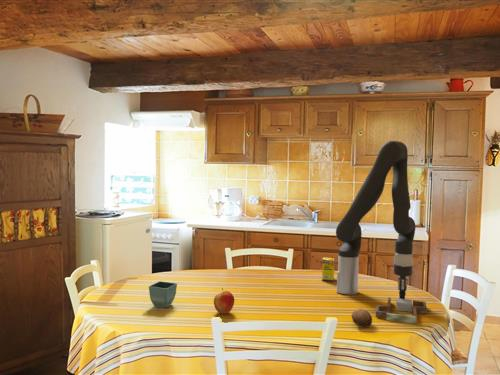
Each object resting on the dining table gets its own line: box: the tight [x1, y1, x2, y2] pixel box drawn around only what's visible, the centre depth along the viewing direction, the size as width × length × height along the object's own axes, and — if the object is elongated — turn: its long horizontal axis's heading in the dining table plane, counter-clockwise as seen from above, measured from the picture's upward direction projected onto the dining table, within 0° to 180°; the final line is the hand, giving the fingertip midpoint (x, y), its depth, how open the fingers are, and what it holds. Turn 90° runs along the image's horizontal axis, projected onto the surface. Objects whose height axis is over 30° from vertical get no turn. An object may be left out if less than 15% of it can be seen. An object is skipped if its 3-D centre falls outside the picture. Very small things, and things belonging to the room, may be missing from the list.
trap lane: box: [375, 297, 428, 325], centre depth 180 cm, size 19×22×2 cm
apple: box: [213, 287, 235, 315], centre depth 177 cm, size 8×8×10 cm
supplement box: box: [321, 257, 335, 282], centre depth 229 cm, size 6×6×11 cm
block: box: [396, 297, 413, 313], centre depth 186 cm, size 6×6×4 cm
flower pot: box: [148, 280, 178, 309], centre depth 185 cm, size 9×9×9 cm
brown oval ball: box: [351, 308, 373, 329], centre depth 166 cm, size 8×8×6 cm
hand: (401, 303), depth 191 cm, fingers closed
